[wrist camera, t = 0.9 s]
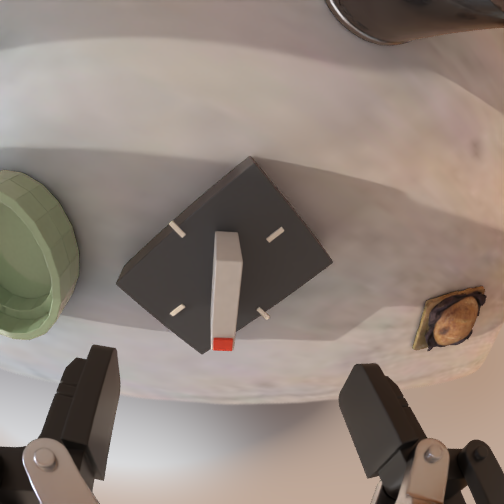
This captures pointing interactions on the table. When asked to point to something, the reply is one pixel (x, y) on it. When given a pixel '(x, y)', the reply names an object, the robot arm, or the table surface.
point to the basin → (33, 257)
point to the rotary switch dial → (202, 253)
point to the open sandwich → (449, 318)
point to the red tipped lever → (225, 290)
